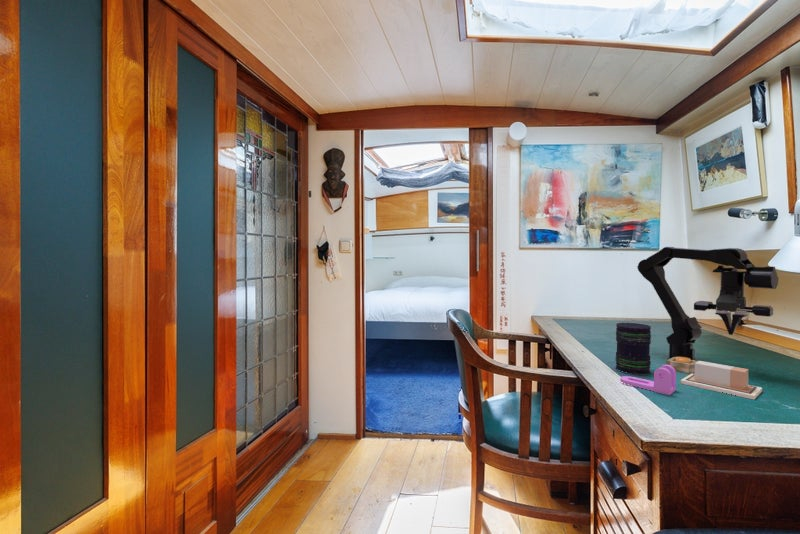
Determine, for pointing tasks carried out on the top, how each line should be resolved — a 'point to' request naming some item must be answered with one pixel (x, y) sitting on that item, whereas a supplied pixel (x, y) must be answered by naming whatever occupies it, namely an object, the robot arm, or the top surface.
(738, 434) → the top surface
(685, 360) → the button
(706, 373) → the two-tone rectangular block
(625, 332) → the storage jar
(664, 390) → the bracket
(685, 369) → the button block
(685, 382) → the picture board
